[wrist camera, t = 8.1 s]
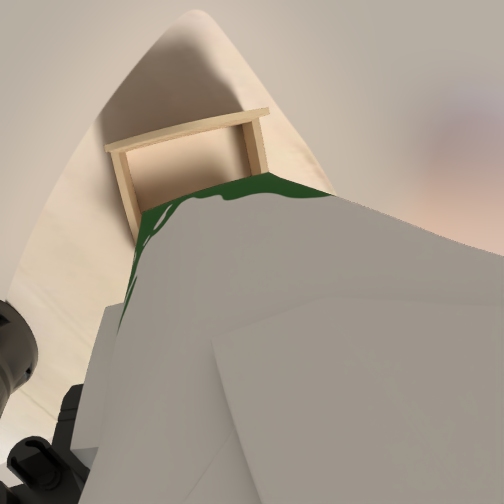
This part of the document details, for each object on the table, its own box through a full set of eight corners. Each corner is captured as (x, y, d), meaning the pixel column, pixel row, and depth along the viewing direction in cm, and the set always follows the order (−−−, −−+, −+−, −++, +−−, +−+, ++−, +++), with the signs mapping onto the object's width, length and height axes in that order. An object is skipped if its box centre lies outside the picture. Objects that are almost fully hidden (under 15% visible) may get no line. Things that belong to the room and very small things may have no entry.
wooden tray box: (150, 270, 39) (145, 315, 29) (117, 147, 34) (94, 148, 23) (269, 238, 42) (304, 271, 31) (246, 116, 36) (277, 106, 26)
